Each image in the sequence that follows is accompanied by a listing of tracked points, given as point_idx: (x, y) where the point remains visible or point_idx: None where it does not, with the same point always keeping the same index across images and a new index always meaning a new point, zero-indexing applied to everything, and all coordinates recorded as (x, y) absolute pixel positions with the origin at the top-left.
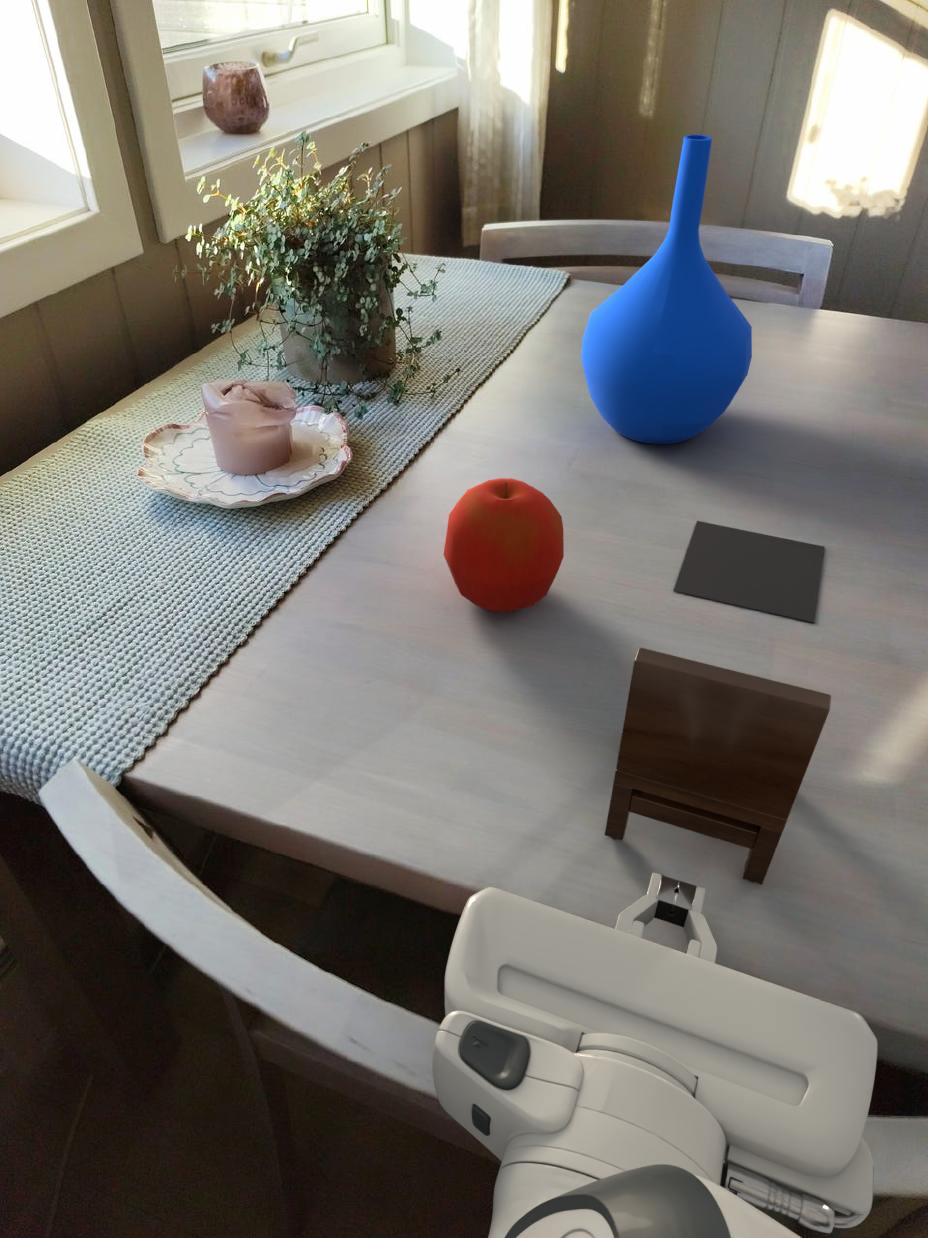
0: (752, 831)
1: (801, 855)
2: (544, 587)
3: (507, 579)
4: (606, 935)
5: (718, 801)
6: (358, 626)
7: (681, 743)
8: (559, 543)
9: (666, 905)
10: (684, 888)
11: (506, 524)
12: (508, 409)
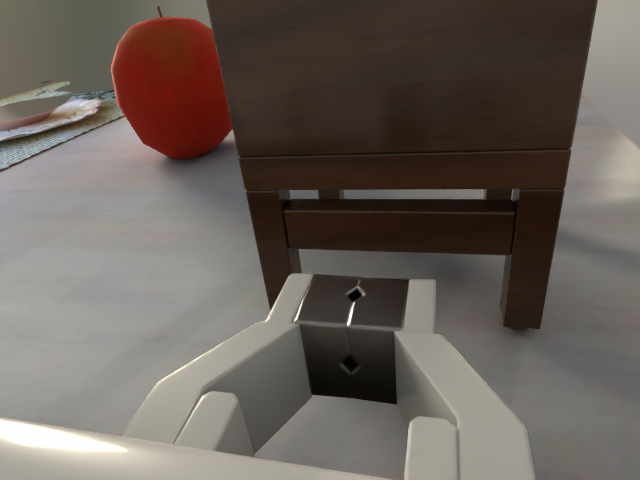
0: (504, 211)
1: (580, 284)
2: (220, 113)
3: (171, 98)
4: (15, 464)
5: (428, 155)
6: (35, 188)
7: (324, 21)
8: None
9: (328, 338)
10: (375, 285)
11: (156, 35)
12: None
